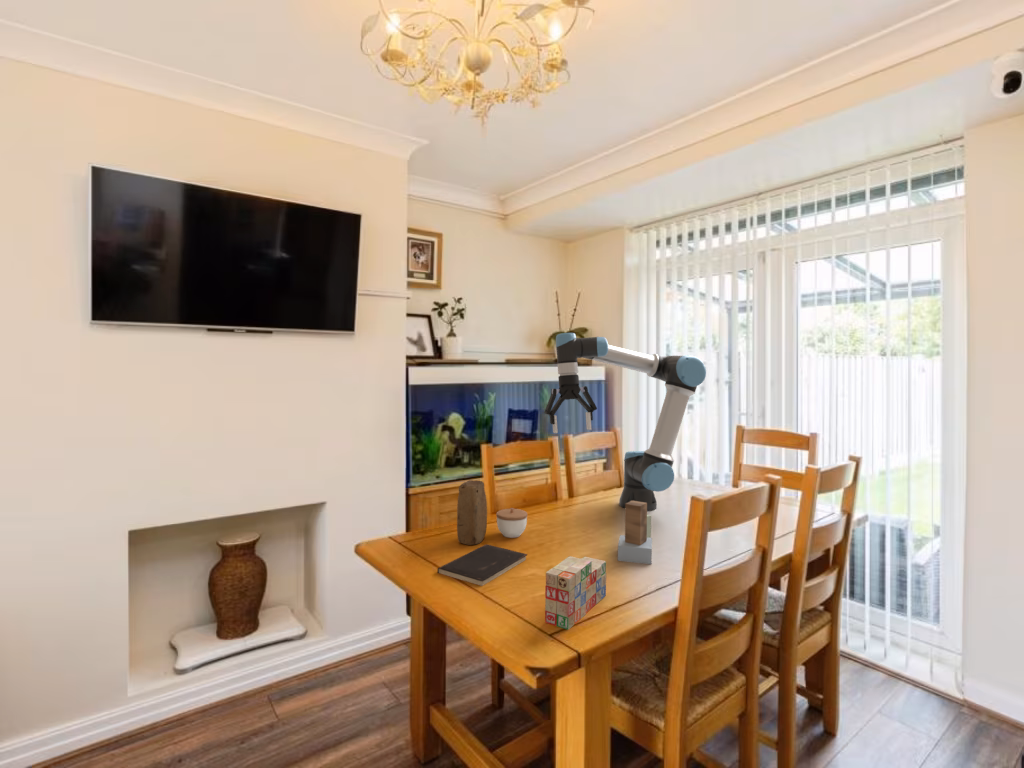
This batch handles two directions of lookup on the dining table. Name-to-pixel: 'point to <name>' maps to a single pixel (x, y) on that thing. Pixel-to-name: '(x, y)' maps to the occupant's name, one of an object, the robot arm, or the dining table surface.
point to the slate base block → (635, 551)
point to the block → (471, 512)
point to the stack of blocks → (573, 590)
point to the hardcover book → (482, 564)
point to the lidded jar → (511, 522)
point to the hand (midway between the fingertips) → (572, 431)
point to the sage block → (648, 526)
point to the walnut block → (636, 522)
